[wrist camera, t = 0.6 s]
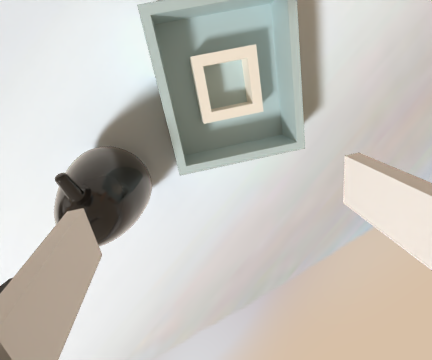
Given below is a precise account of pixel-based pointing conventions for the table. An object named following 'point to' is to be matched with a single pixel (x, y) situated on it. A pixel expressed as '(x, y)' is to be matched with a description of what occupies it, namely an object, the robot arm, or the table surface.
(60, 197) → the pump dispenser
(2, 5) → the table surface
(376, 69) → the table surface
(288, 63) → the box
